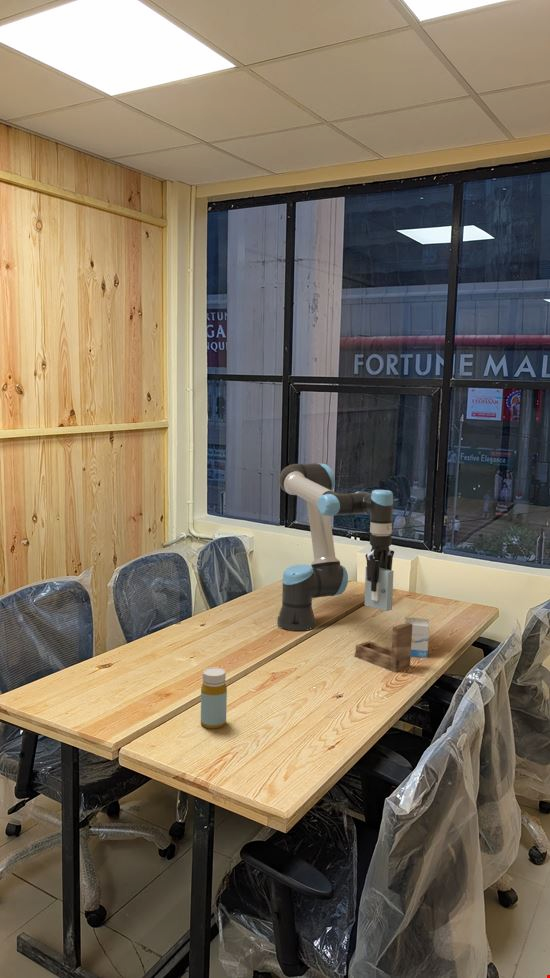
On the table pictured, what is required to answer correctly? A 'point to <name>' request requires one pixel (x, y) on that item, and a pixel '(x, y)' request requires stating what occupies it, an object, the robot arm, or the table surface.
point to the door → (381, 590)
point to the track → (389, 650)
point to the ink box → (419, 636)
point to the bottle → (213, 698)
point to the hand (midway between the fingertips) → (378, 599)
